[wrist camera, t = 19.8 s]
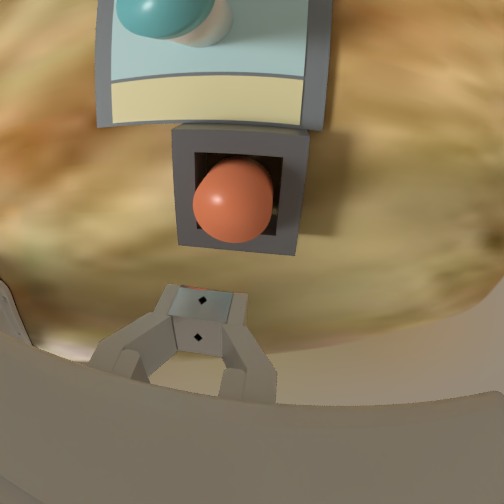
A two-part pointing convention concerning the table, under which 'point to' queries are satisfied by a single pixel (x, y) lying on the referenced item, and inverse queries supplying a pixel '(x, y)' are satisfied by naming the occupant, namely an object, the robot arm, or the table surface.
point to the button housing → (240, 142)
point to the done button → (234, 200)
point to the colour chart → (219, 69)
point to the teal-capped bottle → (177, 20)
